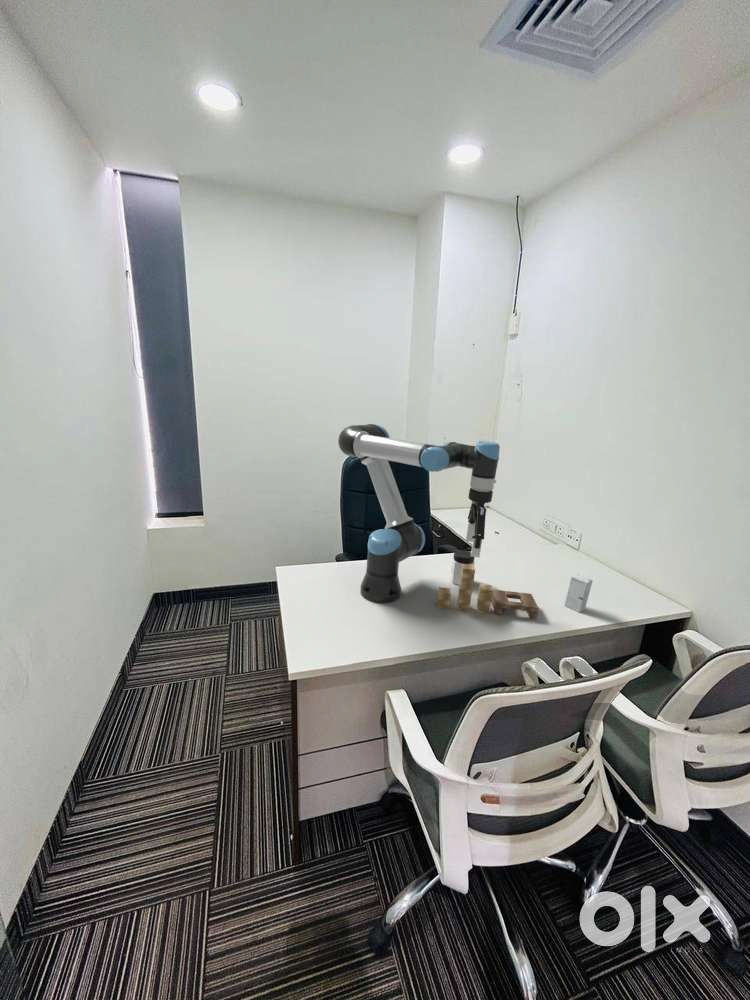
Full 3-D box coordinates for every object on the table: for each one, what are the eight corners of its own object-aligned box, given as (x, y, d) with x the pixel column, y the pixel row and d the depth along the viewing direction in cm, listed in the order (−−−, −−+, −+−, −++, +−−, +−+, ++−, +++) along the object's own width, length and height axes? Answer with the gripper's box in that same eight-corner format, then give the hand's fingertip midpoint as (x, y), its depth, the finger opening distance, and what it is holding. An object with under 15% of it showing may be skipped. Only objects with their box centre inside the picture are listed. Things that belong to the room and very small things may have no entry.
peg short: (437, 607, 146) (439, 592, 145) (437, 602, 150) (439, 587, 148) (448, 609, 146) (450, 593, 144) (448, 603, 150) (450, 588, 148)
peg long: (457, 610, 146) (463, 568, 141) (456, 604, 149) (462, 563, 145) (469, 611, 145) (475, 569, 141) (467, 605, 149) (473, 564, 145)
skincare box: (563, 605, 154) (570, 576, 151) (570, 602, 157) (576, 573, 153) (580, 613, 149) (587, 582, 146) (586, 609, 152) (593, 580, 149)
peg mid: (477, 612, 145) (481, 589, 143) (476, 606, 149) (479, 584, 146) (489, 613, 145) (493, 590, 142) (487, 608, 148) (491, 585, 146)
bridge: (495, 614, 144) (497, 603, 143) (490, 600, 154) (492, 589, 153) (536, 619, 143) (538, 607, 142) (529, 604, 153) (531, 593, 151)
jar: (448, 575, 172) (452, 549, 168) (468, 576, 172) (472, 550, 168) (452, 586, 163) (456, 558, 160) (473, 587, 163) (477, 559, 160)
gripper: (500, 500, 124) (489, 565, 130) (486, 481, 148) (477, 536, 154) (475, 497, 124) (465, 562, 130) (465, 479, 148) (457, 534, 154)
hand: (472, 548), depth 142 cm, fingers open, 13 cm apart
